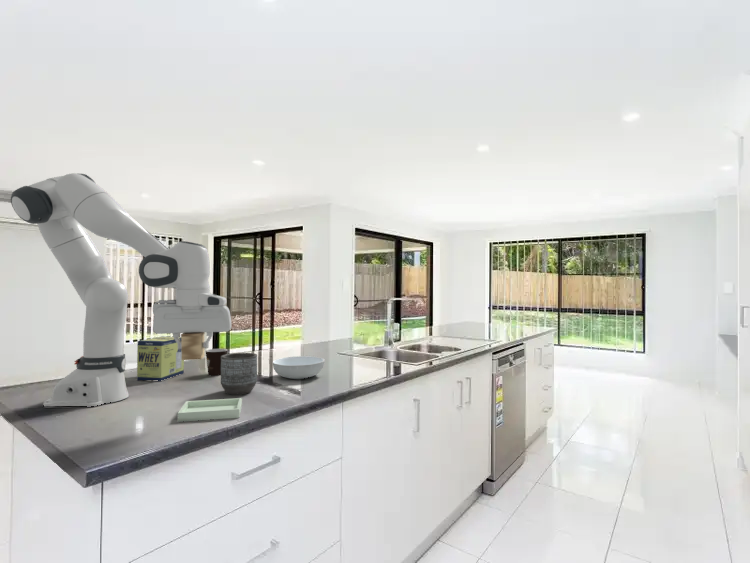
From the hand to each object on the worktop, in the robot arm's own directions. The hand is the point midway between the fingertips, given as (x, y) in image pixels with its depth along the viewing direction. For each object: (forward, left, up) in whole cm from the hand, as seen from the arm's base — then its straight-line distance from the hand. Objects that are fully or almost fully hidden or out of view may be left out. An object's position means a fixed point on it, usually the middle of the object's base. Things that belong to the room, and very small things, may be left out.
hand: (193, 348), depth 117 cm
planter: (+11, +27, -20) cm, 35 cm away
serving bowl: (+33, +47, -20) cm, 61 cm away
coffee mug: (0, +58, -20) cm, 61 cm away
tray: (+5, +3, -19) cm, 20 cm away
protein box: (-21, +59, -20) cm, 66 cm away
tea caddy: (0, 0, -3) cm, 3 cm away
